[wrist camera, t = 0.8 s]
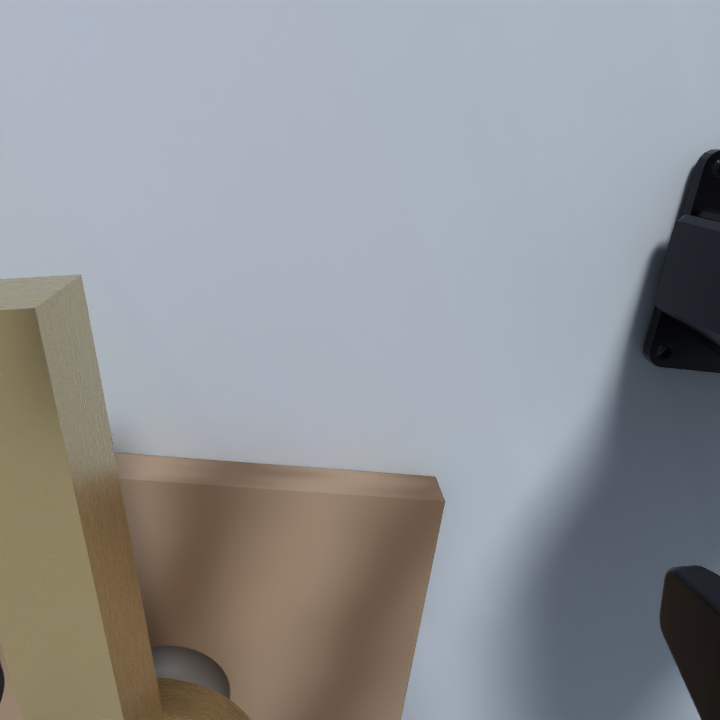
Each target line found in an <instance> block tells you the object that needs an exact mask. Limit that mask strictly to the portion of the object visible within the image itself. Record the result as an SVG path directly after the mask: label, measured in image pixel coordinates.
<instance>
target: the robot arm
mask: <svg viewBox="0 0 720 720" xmlns="http://www.w3.org/2000/svg"><path fill="white" fill-rule="evenodd" d="M717 160H719V161H720V149H714V150H709V151H707V152H705V153H704V154H703V155H702V156H701V157H700V158H699V160H698V162H697V164H696V167H695V171H694V174H693V178H692V181H691V185H690V188H689V191H688V195H687V198H686V202H685V205H684V209H683V212H682V216H681V218H680V219H679V220H678V221H677V222H676V224H675V228H674V231H673V235H672V238H671V241H670V245H669V248H668V252H667V255H666V259H665V262H664V266H663V269H662V273H661V276H660V280H659V283H658V287H657V290H656V293H655V297H654V302H655V304H656V305H655V309H654V312H653V316H652V319H651V322H650V326H649V329H648V333H647V336H646V340H645V343H644V347H643V353H644V356H645V358H646V359H647V360H648V361H650V362H651V363H653V364H654V365H656V366H659V367H666V368H676V369H686V370H695V371H705V372H715V373H720V170H719V172H718V173H717V174H716V175H715V176H714V175H713V173H712V166H713V165H714V163H715V162H716V161H717ZM664 344H666V349H665V351H664V353H662V354H661V355H657V351H658V349H659V347H660V346H662V345H664ZM660 626H661V630H662V633H663V636H664V638H665V640H666V643H667V645H668V647H669V649H670V651H671V654H672V656H673V658H674V660H675V663H676V665H677V667H678V669H679V671H680V674H681V676H682V678H683V680H684V682H685V685H686V687H687V689H688V691H689V694H690V696H691V698H692V700H693V702H694V705H695V707H696V709H697V711H698V713H699V716H700V718H701V720H720V576H719V575H717V574H715V573H713V572H711V571H709V570H707V569H706V568H703V567H701V566H697V565H692V566H681V567H672V568H670V569H669V570H668V571H667V573H666V575H665V579H664V586H663V593H662V601H661V608H660ZM4 686H5V678H4V672H3V669H2V665H1V662H0V703H1V700H2V696H3V692H4Z"/></svg>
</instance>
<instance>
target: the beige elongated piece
mask: <svg viewBox="0 0 720 720" xmlns="http://www.w3.org/2000/svg"><path fill="white" fill-rule="evenodd" d="M0 643H1V646H2V650H3V653H4V657H5V660H6V664H7V667H8V671H9V674H10V678H11V681H12V685H13V688H14V692H15V695H16V699H17V702H18V706H19V709H20V713H21V716H22V720H250V718H249V717H248V716H247V715H246V714H245V713H244V711H243V710H242V709H240V708H239V707H238V706H237V705H236V704H235V703H234V702H232V701H231V700H229V699H228V698H226V697H225V696H223V695H221V694H219V693H217V692H215V691H213V690H211V689H209V688H206V687H204V686H201V685H198V684H195V683H191V682H187V681H183V680H176V679H169V678H156V673H155V667H154V662H153V657H152V651H151V646H150V641H149V635H148V630H147V625H146V619H145V614H144V609H143V603H142V598H141V593H140V587H139V582H138V577H137V571H136V566H135V561H134V555H133V550H132V544H131V539H130V534H129V528H128V523H127V518H126V512H125V507H124V502H123V496H122V491H121V486H120V480H119V475H118V470H117V464H116V459H115V454H114V448H113V443H112V438H111V432H110V427H109V421H108V416H107V411H106V405H105V400H104V395H103V389H102V384H101V379H100V373H99V368H98V363H97V357H96V352H95V347H94V341H93V336H92V331H91V325H90V320H89V315H88V309H87V304H86V299H85V293H84V288H83V282H82V277H81V275H68V276H51V277H34V278H16V279H0Z"/></svg>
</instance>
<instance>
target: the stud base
mask: <svg viewBox="0 0 720 720" xmlns="http://www.w3.org/2000/svg"><path fill="white" fill-rule="evenodd" d="M114 454H115V459H116V464H117V470H118V475H119V480H120V486H121V491H122V496H123V502H124V507H125V512H126V518H127V523H128V528H129V534H130V539H131V544H132V550H133V555H134V561H135V566H136V571H137V577H138V582H139V587H140V593H141V598H142V603H143V609H144V614H145V619H146V625H147V630H148V635H149V641H150V646H151V651H152V657H153V662H154V667H155V673H156V678H169V679H176V680H183V681H187V682H191V683H195V684H198V685H201V686H204V687H206V688H209V689H211V690H213V691H215V692H217V693H219V694H221V695H223V696H225V697H226V698H228V699H229V700H231V701H232V702H234V703H235V704H236V705H237V706H238V707H239V708H240V709H242V710H243V711H244V713H245V714H246V715H247V716H248V717H249V718H250V720H401V716H402V711H403V706H404V701H405V696H406V691H407V686H408V681H409V676H410V671H411V666H412V661H413V656H414V652H415V647H416V642H417V637H418V632H419V627H420V622H421V617H422V612H423V607H424V602H425V597H426V592H427V588H428V583H429V578H430V573H431V568H432V563H433V558H434V553H435V548H436V543H437V538H438V533H439V528H440V524H441V519H442V514H443V509H444V504H445V500H444V497H443V495H442V492H441V490H440V487H439V485H438V482H437V480H436V477H431V476H417V475H404V474H390V473H377V472H364V471H350V470H337V469H323V468H310V467H296V466H283V465H270V464H256V463H243V462H229V461H216V460H202V459H189V458H176V457H162V456H149V455H135V454H122V453H114ZM0 662H1V665H2V669H3V672H4V678H5V686H4V692H3V696H2V700H1V703H0V720H22V716H21V713H20V709H19V706H18V702H17V699H16V695H15V692H14V688H13V685H12V681H11V678H10V674H9V671H8V667H7V664H6V660H5V657H4V653H3V650H2V646H1V643H0Z"/></svg>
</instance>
